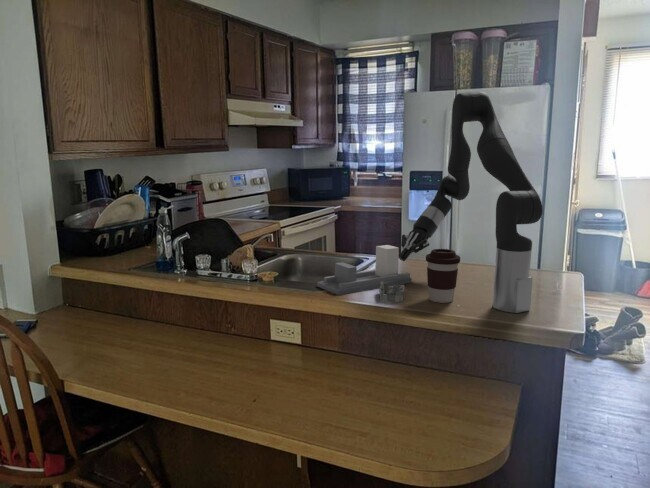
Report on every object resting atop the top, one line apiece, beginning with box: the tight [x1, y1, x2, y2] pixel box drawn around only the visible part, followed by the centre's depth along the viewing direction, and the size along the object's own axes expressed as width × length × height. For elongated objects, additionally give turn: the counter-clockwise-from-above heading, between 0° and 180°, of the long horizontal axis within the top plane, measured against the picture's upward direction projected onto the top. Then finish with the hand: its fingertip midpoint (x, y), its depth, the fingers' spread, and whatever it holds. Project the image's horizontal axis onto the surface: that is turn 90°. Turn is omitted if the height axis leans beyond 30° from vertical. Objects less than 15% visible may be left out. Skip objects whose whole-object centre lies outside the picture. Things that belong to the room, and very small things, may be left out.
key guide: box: [316, 269, 413, 296], centre depth 169 cm, size 12×30×3 cm, turn 122°
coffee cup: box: [425, 248, 461, 304], centre depth 151 cm, size 10×10×15 cm
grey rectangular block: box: [334, 262, 358, 283], centre depth 165 cm, size 8×4×6 cm, turn 32°
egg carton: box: [378, 281, 405, 303], centre depth 155 cm, size 11×8×4 cm
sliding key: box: [375, 244, 400, 277], centre depth 173 cm, size 6×5×10 cm
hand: (401, 259), depth 176 cm, fingers closed
